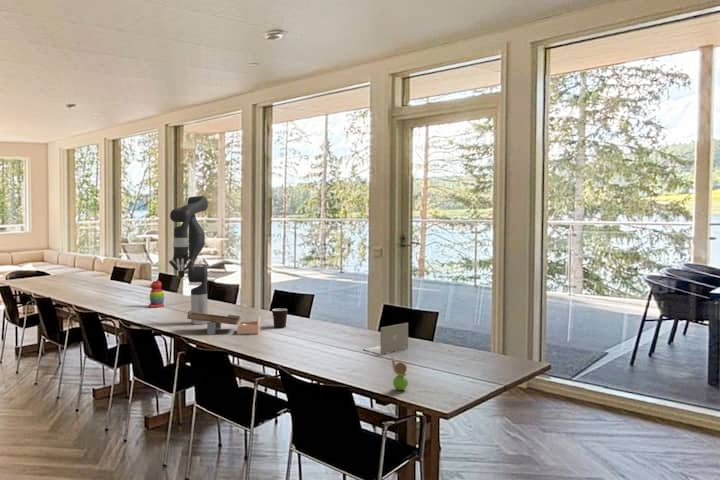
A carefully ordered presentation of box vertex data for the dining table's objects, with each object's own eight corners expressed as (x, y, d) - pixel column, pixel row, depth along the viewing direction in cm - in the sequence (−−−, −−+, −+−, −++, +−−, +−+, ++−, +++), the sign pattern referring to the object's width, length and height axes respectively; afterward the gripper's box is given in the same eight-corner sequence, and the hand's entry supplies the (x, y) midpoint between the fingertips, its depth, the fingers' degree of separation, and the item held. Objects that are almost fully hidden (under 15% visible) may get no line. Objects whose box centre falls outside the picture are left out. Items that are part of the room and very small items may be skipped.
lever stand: (213, 328, 324) (213, 316, 324) (220, 328, 324) (220, 316, 324) (207, 334, 307) (207, 322, 307) (215, 334, 307) (214, 322, 307)
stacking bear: (148, 305, 399) (148, 280, 398) (164, 305, 402) (164, 279, 401) (148, 308, 389) (147, 281, 388) (164, 307, 392) (163, 281, 391)
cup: (239, 330, 318) (239, 315, 318) (260, 330, 319) (260, 315, 319) (236, 334, 308) (236, 319, 307) (258, 334, 308) (258, 319, 308)
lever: (193, 315, 322) (194, 307, 322) (240, 321, 323) (241, 313, 323) (186, 320, 308) (187, 312, 308) (236, 326, 309) (237, 318, 309)
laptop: (389, 345, 286) (390, 318, 286) (408, 349, 277) (408, 322, 276) (362, 350, 275) (362, 323, 274) (380, 355, 265) (381, 327, 264)
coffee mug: (284, 329, 322) (284, 311, 322) (269, 328, 324) (269, 310, 323) (291, 325, 334) (291, 307, 333) (277, 324, 335) (276, 307, 335)
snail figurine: (395, 386, 218) (395, 354, 217) (410, 389, 214) (410, 357, 214) (387, 390, 213) (388, 357, 213) (403, 393, 210) (403, 360, 209)
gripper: (194, 245, 320) (195, 276, 320) (170, 245, 319) (170, 277, 320) (191, 246, 312) (192, 278, 313) (166, 246, 311) (167, 278, 312)
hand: (181, 277), depth 316 cm, fingers closed
